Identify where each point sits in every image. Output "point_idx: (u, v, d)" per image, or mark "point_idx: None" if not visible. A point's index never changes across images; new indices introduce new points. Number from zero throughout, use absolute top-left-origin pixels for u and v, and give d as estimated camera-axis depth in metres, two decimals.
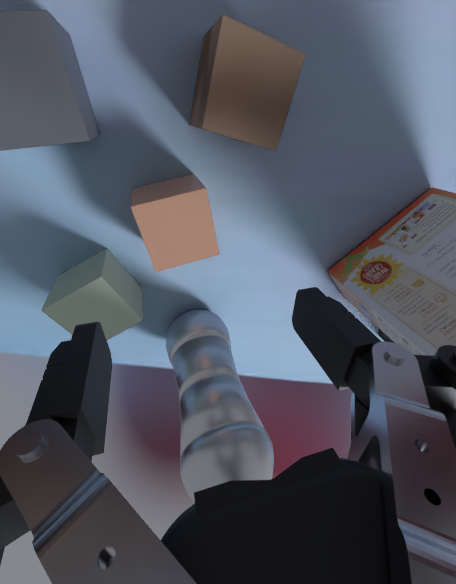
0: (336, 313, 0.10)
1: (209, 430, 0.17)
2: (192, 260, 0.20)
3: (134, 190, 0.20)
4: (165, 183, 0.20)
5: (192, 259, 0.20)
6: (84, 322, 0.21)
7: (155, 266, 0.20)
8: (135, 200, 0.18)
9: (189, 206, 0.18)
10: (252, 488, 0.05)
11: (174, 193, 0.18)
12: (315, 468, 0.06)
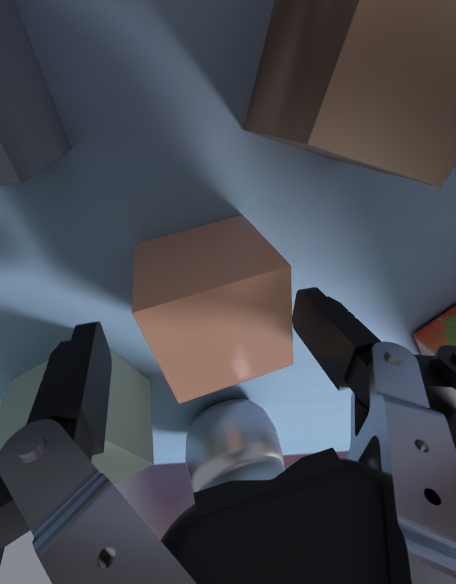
0: (336, 313, 0.10)
1: None
2: (245, 379, 0.11)
3: (139, 250, 0.11)
4: (195, 237, 0.11)
5: (245, 377, 0.11)
6: None
7: (178, 396, 0.10)
8: (142, 287, 0.09)
9: (253, 300, 0.09)
10: (252, 488, 0.05)
11: (222, 274, 0.09)
12: (315, 468, 0.06)
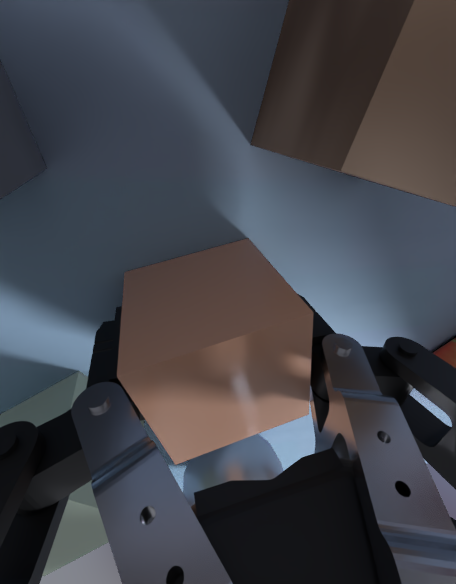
0: None
1: None
2: (253, 433, 0.09)
3: (129, 282, 0.09)
4: (196, 267, 0.10)
5: (254, 432, 0.09)
6: None
7: (175, 457, 0.09)
8: (131, 337, 0.07)
9: (266, 352, 0.07)
10: (252, 488, 0.05)
11: (230, 322, 0.07)
12: (315, 468, 0.06)
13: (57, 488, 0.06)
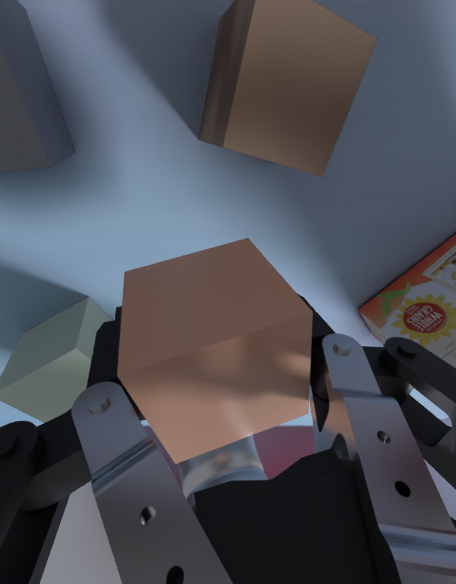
0: None
1: None
2: (253, 432, 0.09)
3: (130, 282, 0.09)
4: (195, 266, 0.10)
5: (253, 431, 0.09)
6: (54, 404, 0.15)
7: (175, 456, 0.09)
8: (131, 336, 0.07)
9: (265, 352, 0.07)
10: (252, 489, 0.05)
11: (229, 321, 0.07)
12: (315, 468, 0.06)
13: (57, 488, 0.06)
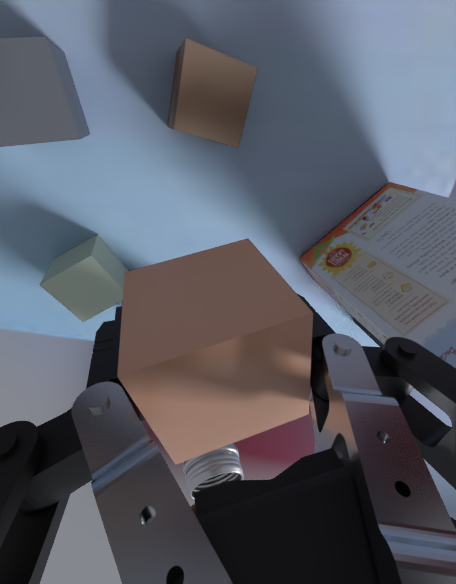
0: None
1: None
2: (253, 433, 0.09)
3: (130, 283, 0.09)
4: (196, 267, 0.10)
5: (253, 431, 0.09)
6: (77, 297, 0.24)
7: (175, 457, 0.09)
8: (131, 337, 0.07)
9: (266, 352, 0.07)
10: (252, 488, 0.05)
11: (230, 322, 0.07)
12: (315, 468, 0.06)
13: (57, 488, 0.06)
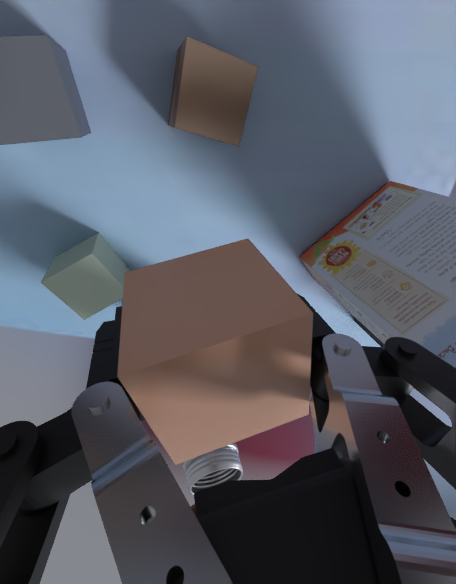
0: None
1: None
2: (253, 433, 0.09)
3: (130, 283, 0.09)
4: (196, 267, 0.10)
5: (254, 431, 0.09)
6: (78, 294, 0.24)
7: (175, 457, 0.09)
8: (131, 337, 0.07)
9: (266, 352, 0.07)
10: (252, 488, 0.05)
11: (230, 322, 0.07)
12: (315, 468, 0.06)
13: (57, 488, 0.06)
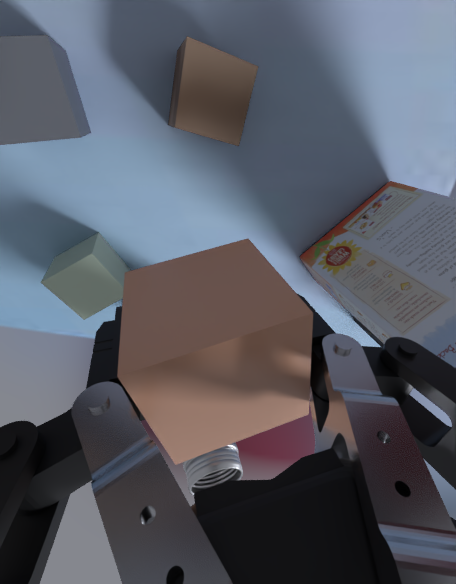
0: None
1: None
2: (253, 433, 0.09)
3: (130, 283, 0.09)
4: (196, 267, 0.10)
5: (254, 431, 0.09)
6: (78, 294, 0.24)
7: (175, 457, 0.09)
8: (131, 337, 0.07)
9: (266, 352, 0.07)
10: (252, 488, 0.05)
11: (230, 322, 0.07)
12: (315, 468, 0.06)
13: (57, 488, 0.06)
